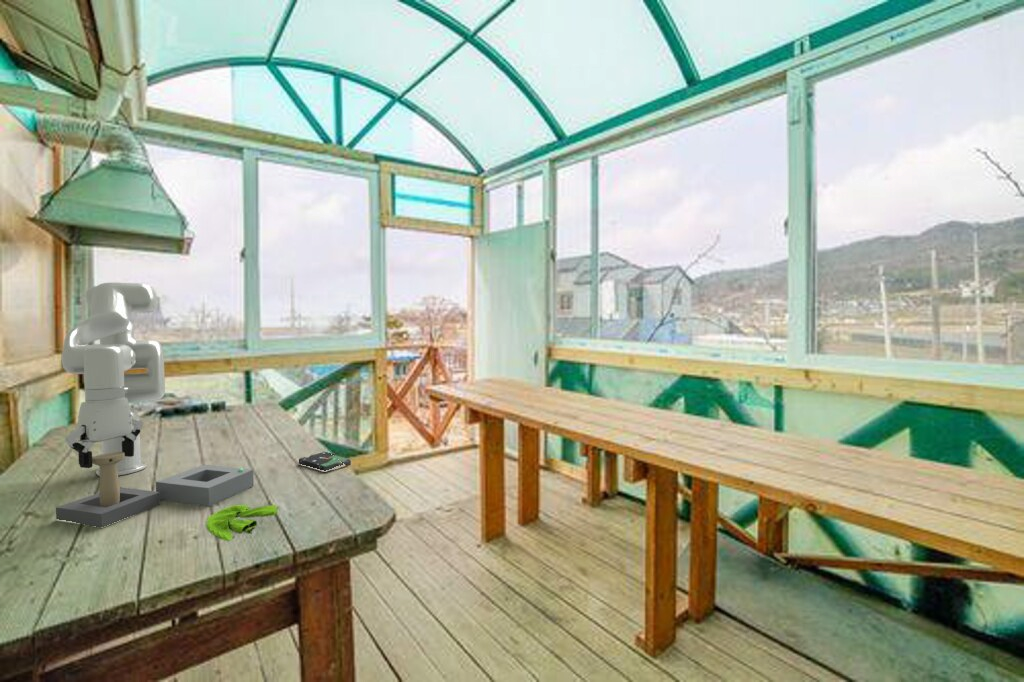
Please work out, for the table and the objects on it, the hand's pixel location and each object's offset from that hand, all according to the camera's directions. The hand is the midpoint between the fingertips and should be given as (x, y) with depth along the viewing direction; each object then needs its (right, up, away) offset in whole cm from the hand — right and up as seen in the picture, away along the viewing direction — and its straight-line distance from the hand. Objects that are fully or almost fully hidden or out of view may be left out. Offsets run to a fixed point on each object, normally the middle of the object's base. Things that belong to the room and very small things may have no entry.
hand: (108, 461), depth 116 cm
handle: (0, -14, +1) cm, 14 cm away
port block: (+15, -13, +15) cm, 25 cm away
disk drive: (+39, -12, +40) cm, 57 cm away
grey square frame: (0, -14, +1) cm, 14 cm away
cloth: (+37, -15, -3) cm, 40 cm away
